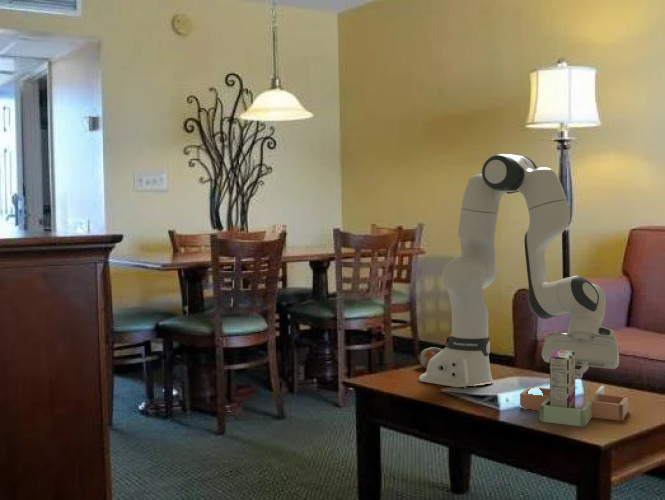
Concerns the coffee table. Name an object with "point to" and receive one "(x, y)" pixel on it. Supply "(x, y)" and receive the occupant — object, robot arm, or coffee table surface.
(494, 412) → the coffee table surface
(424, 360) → the decorative duck model
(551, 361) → the candy bar box
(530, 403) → the channel
